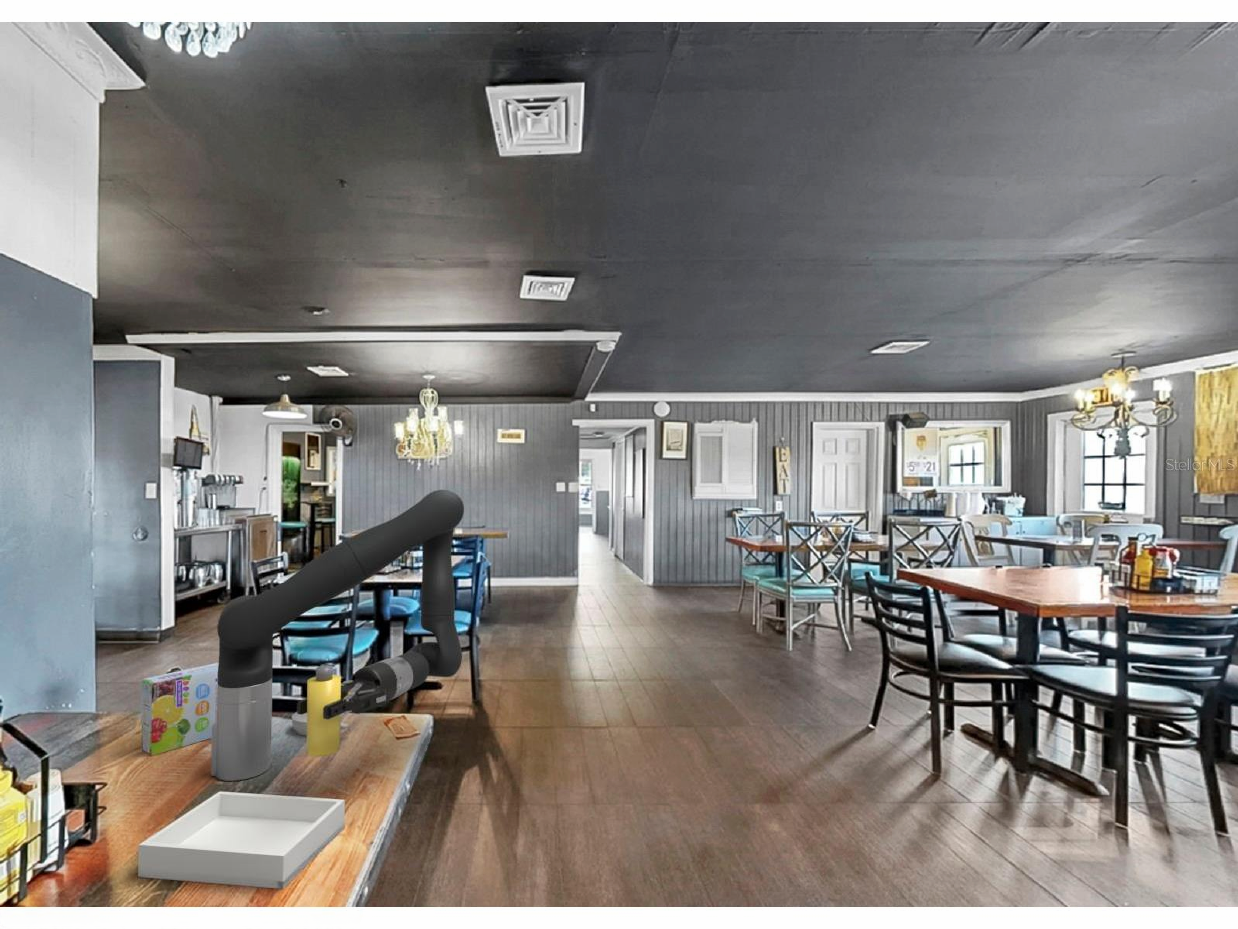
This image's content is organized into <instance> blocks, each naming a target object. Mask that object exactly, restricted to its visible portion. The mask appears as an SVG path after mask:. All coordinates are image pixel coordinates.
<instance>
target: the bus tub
mask: <svg viewBox="0 0 1238 929" xmlns="http://www.w3.org/2000/svg"><path fill="white" fill-rule="evenodd" d="M345 801H346V800H345V799H337V798H327V797H326V798H323V797H310V796H309V797H307V796H293V795H277V794H263V793H261V794H260V793H248V792H247V793H246V792H232V791H218V792H217V793H215V794H213V795H212V796H210V797H208V799H206V800H204V801H203V802H201V803H200V804H198V805H197V806H195V807H194V808H192V809H191V810H189V811H188V812H186V813H185V814H183V815H182V816H180V817H178V818H177V819H176V820H174V821H173V822H171V823H170V824H168V825H166V826H165V827H164V828H162V829H161V830H158V831H157V832H155V833H154V834H153V835H151V836H149V837H148V838H147V839H145V840H144V841H142V842H141V843H140V844H138V860H137V862H138V865H137V866H138V870H137V871H138V872H137V873H138V874H137V877H139V878H145V879H146V878H148V879H158V880H159V879H161V880H170V881H171V880H172V881H183V882H184V881H186V882H195V883H196V882H197V883H206V884H207V883H208V884H217V885H218V884H219V885H231V886H240V887H241V886H243V887H245V886H246V887H255V888H256V887H257V888H267V889H278V890H279V889H280V890H284V889H285V888H286V887H287V886H288V885H289V884H290V882H292V881H293V880H294V879H295V878H297V876H298V875H299V874H300V873H301V872H302V871H303V870H304V869H305V868H306V867H307V866H308V865H309V864H310V862H312V861H313V860H314V859H315V858H316V857H317V856H318V855H319V854H320V853H321V852H322V851H323V850H324V849H325V848H326V847H327V846H328V845H329V844H330V843H331V842H332V841H333V840H334V839H335V838H336V837H337V836H338V835H339V834H340V833H341V832H342V831H343V830H344V829H345V820H346V819H345V815H346V813H345V812H346V811H345V810H346V802H345ZM342 829H343V830H342Z"/></svg>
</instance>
